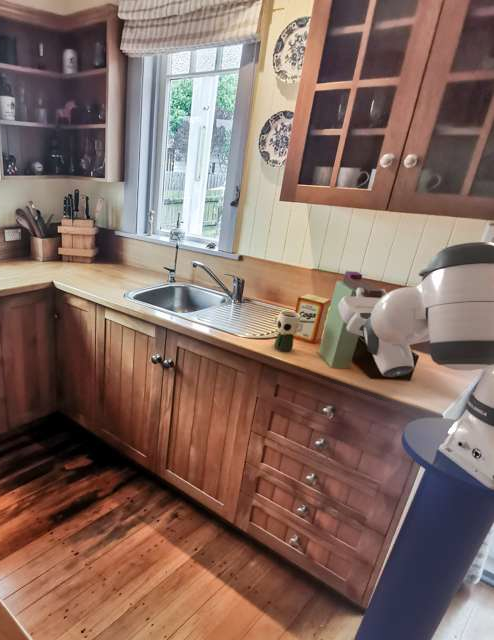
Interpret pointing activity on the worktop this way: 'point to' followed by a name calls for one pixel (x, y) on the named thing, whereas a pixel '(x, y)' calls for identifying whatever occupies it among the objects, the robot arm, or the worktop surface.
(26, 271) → the worktop surface
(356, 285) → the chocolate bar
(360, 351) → the trash bin
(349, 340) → the green box
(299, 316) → the character mug
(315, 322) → the baking soda box
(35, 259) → the worktop surface
